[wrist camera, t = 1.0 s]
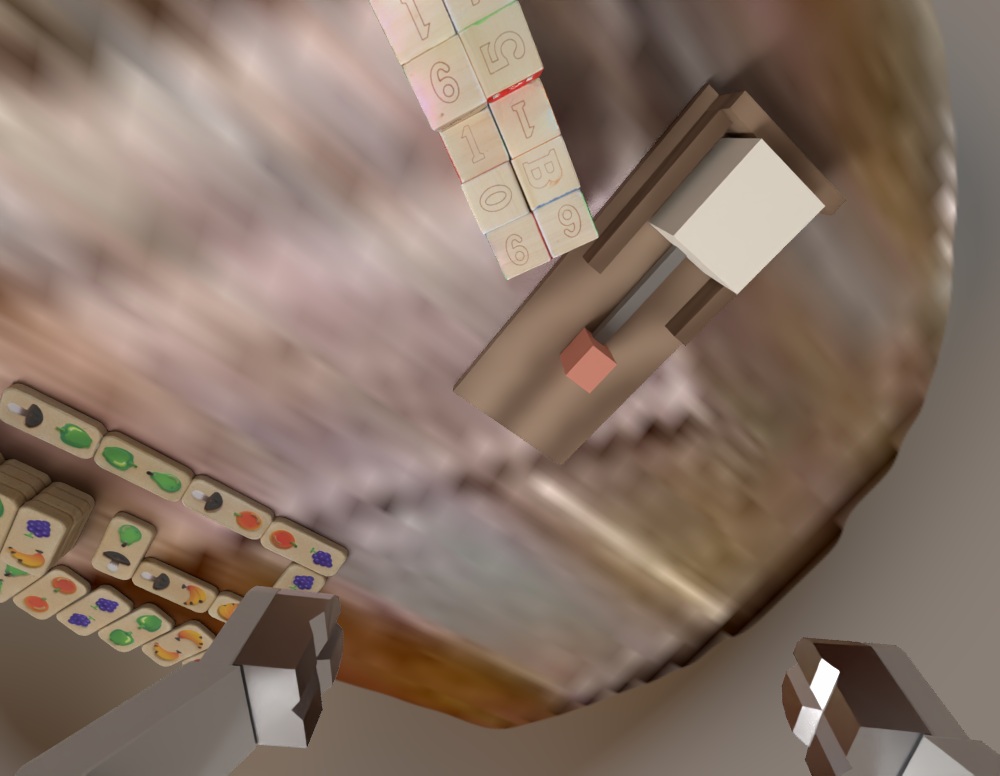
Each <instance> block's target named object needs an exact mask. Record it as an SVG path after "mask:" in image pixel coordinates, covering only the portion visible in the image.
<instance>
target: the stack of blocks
mask: <svg viewBox="0 0 1000 776" xmlns="http://www.w3.org/2000/svg"><path fill="white" fill-rule="evenodd" d="M369 2H370V4H371V6H372V8H373V11H374V13H375V15H376V17H377V19H378V20H379V23H380V25H381V27H382V29H383V31H384V33H385V35H386V37H387V39H388V41H389V43H390V45H391V47H392V49H393V51H394V54H395V56H396V58H397V59H398V61H399V63H400V64H401V66H402V67H403V70H404V72H405V75H406V77H407V79H408V81H409V83H410V85H411V87H412V89H413V91H414V93H415V95H416V97H417V99H418V101H419V103H420V106H421V108H422V110H423V112H424V114H425V116H426V118H427V120H428V122H429V124H430V126H431V128H432V130H433V131H437V132H438V133H439V135H440V137H441V139H442V141H443V144H444V146H445V148H446V150H447V152H448V155H449V157H450V159H451V161H452V163H453V166H454V168H455V170H456V172H457V175H458V177H459V179H460V181H461V188H462V190H463V192H464V195H465V197H466V199H467V201H468V204H469V206H470V208H471V210H472V212H473V214H474V217H475V219H476V221H477V223H478V225H479V227H480V229H481V231H482V233H483V234H484V235H486V237H487V239H488V241H489V244H490V246H491V248H492V250H493V252H494V255H495V257H496V259H497V261H498V263H499V266H500V268H501V270H502V272H503V274H504V277H505V279H506V280H509V279H511V278H513V277H515V276H517V275H520V274H522V273H524V272H526V271H528V270H530V269H533V268H535V267H537V266H540V265H542V264H544V263H546V262H548V261H550V260H551V259H552V258H555V257H557V256H560V255H562V254H564V253H567V252H569V251H571V250H573V249H575V248H577V247H579V246H582V245H584V244H586V243H588V242H591V241H593V240H595V239H597V238H599V235H598V232H597V229H596V227H595V224H594V221H593V219H592V216H591V214H590V211H589V208H588V205H587V203H586V200H585V198H584V196H583V193H582V191H581V185H580V182H579V179H578V177H577V174H576V171H575V169H574V166H573V164H572V161H571V158H570V156H569V153H568V150H567V147H566V145H565V142H564V140H563V137H562V135H561V131H560V128H559V125H558V123H557V120H556V117H555V115H554V112H553V110H552V107H551V105H550V102H549V99H548V97H547V94H546V92H545V89H544V86H543V84H542V82H541V79H540V78H539V76H540V75H541V73H542V72H543V70H544V67H543V64H542V61H541V59H540V56H539V53H538V51H537V48H536V45H535V43H534V40H533V37H532V35H531V32H530V29H529V27H528V24H527V22H526V19H525V16H524V14H523V11H522V8H521V5H520V3H519V1H518V0H369Z"/></svg>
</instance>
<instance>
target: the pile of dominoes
mask: <svg viewBox="0 0 1000 776" xmlns="http://www.w3.org/2000/svg"><path fill="white" fill-rule="evenodd" d="M0 419H1V420H2V421H3V422H5V423H7V424H9V425H11V426H13V427H15V428H18V429H20V430H22V431H24V432H26V433H28V434H30V435H33V436H35V437H37V438H39V439H41V440H43V441H45V442H48V443H50V444H52V445H54V446H56V447H58V448H60V449H63V450H65V451H67V452H69V453H71V454H73V455H75V456H78V457H80V458H83V459H88V458H91V457H94V460H95V462H96V464H97V465H99V466H100V467H101V468H103V469H105V470H107V471H109V472H111V473H113V474H115V475H118V476H120V477H122V478H124V479H126V480H128V481H130V482H132V483H134V484H136V485H138V486H140V487H142V488H144V489H146V490H148V491H150V492H152V493H154V494H156V495H158V496H160V497H162V498H164V499H166V500H169V501H178V500H180V499H181V500H182V503H183V504H184V506H186V507H187V508H189V509H191V510H193V511H195V512H197V513H199V514H201V515H203V516H205V517H207V518H209V519H211V520H213V521H215V522H217V523H219V524H221V525H223V526H225V527H227V528H229V529H231V530H233V531H235V532H237V533H239V534H241V535H243V536H245V537H247V538H250V539H258V538H261V543H262V545H263V546H264V547H265V548H267V549H269V550H271V551H273V552H275V553H277V554H280V555H282V556H284V557H286V558H288V559H290V560H292V561H293V562H292V563H291V564H290V565H289V566H288V567H287V569H286V570H285V571H284V573H283V574H282V575H281V577H280V578H279V579H278V580H277V582H276V583H275V584H274V586H273V587H272V588H279V589H291V590H300V591H308V592H317V593H318V592H319V590H320V589H321V588H322V587H323V586H324V584H325V583H326V580H327V576H332V575H334V574H335V573H336V572H337V571H338V570H339V568H340V567H341V566H342V564H343V563H344V562H345V560H346V558H347V556H348V552H347V550H346V549H345V548H344V547H342V546H340V545H338V544H336V543H334V542H332V541H330V540H328V539H326V538H324V537H322V536H320V535H318V534H316V533H314V532H312V531H310V530H308V529H306V528H304V527H302V526H300V525H298V524H296V523H294V522H292V521H290V520H288V519H286V518H284V517H275V516H274V513H273V511H272V510H270V509H269V508H267V507H265V506H263V505H261V504H259V503H258V502H256V501H254V500H252V499H250V498H248V497H246V496H244V495H242V494H240V493H238V492H236V491H234V490H233V489H231V488H229V487H227V486H225V485H223V484H221V483H219V482H217V481H215V480H213V479H211V478H210V477H207V476H204V475H198V476H195V475H194V473H193V472H192V471H191V470H190V469H189V468H187V467H185V466H183V465H182V464H180V463H178V462H176V461H174V460H172V459H170V458H168V457H166V456H164V455H162V454H160V453H159V452H157V451H155V450H153V449H151V448H149V447H147V446H145V445H143V444H141V443H139V442H137V441H136V440H134V439H132V438H130V437H128V436H126V435H124V434H122V433H120V432H115V431H114V432H108V431H107V430H106V428H105V427H104V426H103V424H101V423H100V422H98V421H96V420H94V419H92V418H90V417H88V416H86V415H84V414H82V413H80V412H78V411H76V410H74V409H72V408H70V407H68V406H66V405H64V404H62V403H60V402H58V401H56V400H54V399H52V398H50V397H48V396H46V395H44V394H42V393H40V392H38V391H36V390H34V389H32V388H30V387H28V386H26V385H23V384H13V385H11V386H10V387H8V388H6V389H5V390H4V392H3V395H2V398H1V401H0ZM94 505H95V501H94V499H93V498H92V497H91V496H90V495H88V494H86V493H84V492H82V491H80V490H78V489H76V488H73V487H71V486H69V485H67V484H65V483H62V482H53V483H52V482H51V479H50V478H49V476H48V475H47V474H45V473H43V472H41V471H39V470H37V469H35V468H33V467H31V466H28V465H26V464H24V463H22V462H20V461H18V460H15V459H9V460H7V461H6V460H5V459H4V457H3V456H2V454H1V453H0V603H2V602H5V601H6V600H8V599H10V598H11V597H13V601H14V603H15V604H16V605H17V606H18V607H20V608H21V609H23V610H25V611H26V612H28V613H29V614H30V615H32V616H33V617H35V618H38V619H47V618H49V617H51V616H52V615H54V614H55V613H57V619H58V620H59V621H60V622H62V623H63V624H64V625H66V626H67V627H69V628H70V629H71V630H73V631H74V632H76V633H77V634H79V635H84V636H86V635H89V634H91V633H93V632H95V631H97V630H99V632H98V635H99V636H100V638H101V639H103V640H104V641H105V642H107V643H108V644H109V645H111V646H112V647H113V648H115V649H116V650H118V651H121V652H128V651H130V650H132V649H134V648H136V647H138V646H140V645H142V644H143V645H142V650H143V652H144V653H145V654H147V655H148V656H149V657H150V658H151V659H153V660H154V661H155V662H156V663H158V664H159V665H161V666H171V665H173V664H175V663H177V662H179V661H181V660H183V661H182V665H185V664H186V663H188V662H190V661H195V662H199V661H200V659H201V658H202V656H203V655H204V654H205V652H206V651H207V649H208V648H209V646H210V645H211V644H212V642H213V641H214V639H215V638H216V636H215V635H214V634H213V633H212V632H211V631H210V630H209V629H208V628H206V627H205V626H204V625H203V624H202V623H201V622H199V621H196V620H190V621H187V622H185V623H183V624H181V625H179V626H176V627H174V625H175V622H174V620H173V619H172V618H171V617H170V616H168V615H167V614H166V613H165V612H163V611H162V610H161V609H160V608H158V607H157V606H156V605H154V604H150V603H146V604H143V605H141V606H139V607H137V608H135V609H134V605H133V602H132V601H131V600H129V599H128V598H127V597H125V596H124V595H123V594H122V593H120V592H119V591H118V590H116V589H115V588H113V587H112V586H110V585H101V586H99V587H98V588H96V589H94V590H92V591H91V585H90V583H89V582H87V581H86V580H85V579H83V578H82V577H81V576H79V575H78V574H77V573H75V572H74V571H72V570H71V569H70V568H68V567H66V566H62V565H59V566H56V567H54V568H52V569H51V570H49V569H50V568H51V567H52V566H53V565H54V564H55V563H56V562H57V561H58V560H59V559H61V558H62V557H63V556H64V555H65V554H66V553H67V552H69V551H70V550H71V549H73V548H74V546H75V544H76V542H77V540H78V538H79V536H80V534H81V532H82V530H83V528H84V526H85V524H86V522H87V520H88V518H89V516H90V514H91V512H92V510H93V508H94ZM155 535H156V529H155V527H154V526H153V525H151V524H149V523H147V522H145V521H143V520H141V519H138V518H136V517H134V516H132V515H130V514H127V513H124V512H120V513H117V514H116V515H115V516H114V517H113V518H112V520H111V522H110V524H109V526H108V528H107V530H106V532H105V534H104V536H103V538H102V540H101V542H100V544H99V547H98V549H97V551H96V553H95V555H94V557H93V559H92V565H93V566H94V568H96V569H97V570H99V571H101V572H104V573H106V574H109V575H111V576H114V577H116V578H118V579H123V580H127V579H129V578H132V581H133V583H134V584H135V585H137V586H139V587H141V588H143V589H145V590H148V591H150V592H152V593H154V594H157V595H159V596H161V597H164V598H166V599H168V600H170V601H173V602H175V603H177V604H179V605H182V606H184V607H186V608H189V609H191V610H193V611H195V612H201V613H202V612H205V611H207V610H208V611H209V614H210V615H211V616H212V617H214V618H216V619H218V620H221V621H223V622H225V623H226V622H227V621H228V619H229V618H230V616H231V615H232V613H233V612H234V611H235V609H236V608H237V606H238V605H239V603H240V602H241V600H242V599H243V597H241V596H239V595H236V594H234V593H232V592H229V591H222V592H219V591H218V589H217V588H216V587H215V586H213V585H211V584H209V583H207V582H204V581H202V580H200V579H198V578H196V577H194V576H191V575H189V574H187V573H185V572H183V571H181V570H178V569H176V568H174V567H172V566H170V565H168V564H165V563H163V562H161V561H159V560H157V559H154V558H144V556H145V554H146V552H147V550H148V548H149V546H150V545H151V543H152V541H153V539H154V537H155Z"/></svg>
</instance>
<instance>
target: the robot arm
mask: <svg viewBox="0 0 1000 776" xmlns="http://www.w3.org/2000/svg"><path fill="white" fill-rule="evenodd" d="M340 611H341V608H340V601H339V597H338V596H336V595H333V594H325V593H317V592H308V591H300V590H291V589H279V588H270V587H262V586H255V587H254V588H252V589H251V590H249V591H248V592H247V593H246V595H245V596H244V598H243V599H242V600H241V602H240V603H239V605H238V606H237V608H236V609H235V611H234V612H233V613H232V615H231V616H230V618H229V619H228V621H227V622H226V623H225V625H224V626H223V628H222V629H221V631H220V632H219V633H218V635H217V636H216V638H215V639H214V641H213V642H212V644H211V645H210V646H209V648H208V649H207V651H206V652H205V654H204V655H203V656H202V658H201V659H200V661H199V662H195V661H190V662H188V663H186V664H185V665H183V666H182V667H180V668H179V669H177V670H175V671H174V672H172V673H171V674H169V675H167V676H166V677H164V678H162V679H161V680H159V681H158V682H156V683H154V684H153V685H151V686H150V687H148V688H146V689H145V690H143V691H142V692H140V693H138V694H137V695H135V696H134V697H132V698H131V699H129V700H127V701H126V702H124V703H122V704H121V705H119V706H118V707H116V708H115V709H113V710H111V711H110V712H108V713H107V714H105V715H103V716H102V717H100V718H99V719H97V720H95V721H94V722H92V723H91V724H89V725H87V726H86V727H84V728H82V729H81V730H79V731H78V732H76V733H75V734H73V735H71V736H70V737H68V738H66V739H65V740H63V741H62V742H60V743H59V744H57V745H55V746H54V747H52V748H50V749H49V750H47V751H46V752H44V753H43V754H41V755H39V756H38V757H36V758H34V759H33V760H31V761H30V762H28V763H26V764H25V765H23V766H22V767H21V768H20V769H19V770H18V772H17V773H16V774H15V775H14V776H227V775H228V774H229V773H230V772H231V771H232V770H233V769H234V768H235V767H237V766H238V765H239V764H240V763H241V762H242V761H243V760H244V759H245V758H246V757H247V756H248V755H249V754H250V753H251V752H252V751H253V750H254V749H255V748H256V744H261V745H273V746H287V747H299V748H307V747H308V744H309V742H310V739H311V737H312V735H313V732H314V729H315V727H316V725H317V722H318V720H319V718H320V715H321V713H322V710H323V709H322V699H321V694H323V693H324V692H325V691H326V690H328V689H329V688H330V687H331V686H332V685H333V682H334V680H335V678H336V675H337V672H338V670H339V665H340V661H341V657H342V653H343V629H342V628H341V627H340V626H339V625H338V624H337V622H336V620H337V618H338V616H339V614H340ZM793 654H794V656H795V658H796V660H797V662H798V664H797V665H795V666H794V667H792V668H791V669H790V670H788V671H787V672H786V675H785V678H784V681H783V684H782V702H783V707H784V710H785V714H786V718H787V720H788V723H789V725H790V727H791V730H792V732H793V733H794V734H795V735H796V736H797V737H798V738H799V739H800V740H801V741H802V742H803V743H805V744H806V745H807V746H808V749H807V753H806V757H805V762H806V764H807V766H808V768H809V771H810V773H811V775H812V776H1000V754H998V753H997V752H996V751H994V750H993V749H991V748H990V747H989V746H987V745H986V744H985V743H983V742H982V741H978V740H970V738H969V737H968V736H967V735H966V733H965V732H964V730H963V729H962V728H961V726H960V725H959V724H958V722H957V721H956V720H955V718H954V717H953V716H952V714H951V713H950V712H949V710H948V709H947V708H946V706H945V705H944V704H943V702H942V701H941V700H940V698H939V697H938V696H937V694H936V693H935V692H934V690H933V689H932V688H931V686H930V685H929V684H928V682H927V681H926V680H925V678H924V677H923V676H922V674H921V673H920V672H919V670H918V669H917V668H916V666H915V665H914V664H913V662H912V661H911V660H910V658H909V657H908V656H907V654H906V653H905V652H904V651H903V650H902V649H900V648H899V647H897V646H896V645H887V644H874V643H860V642H852V641H839V640H828V639H815V638H802V639H801V640H800V641H798V642H797V644H796V647H795V649H794V652H793Z"/></svg>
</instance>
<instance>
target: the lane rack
mask: <svg viewBox="0 0 1000 776" xmlns="http://www.w3.org/2000/svg"><path fill="white" fill-rule="evenodd" d="M721 138H762V139H763V141H764V142H765V143H766V144H767V145H768V146H769V147H770V148H771V149H772V150H773V151H774V152H775V153H776V154H777V155H778V156H779V157H780V159H781V160H782V161H783V162H784V163H785V164H786V165H787V166H788V167H789V168H790V169H791V170H792V171H793V172H794V173H795V174H796V175H797V177H798V178H799V179H800V180H801V181H802V182H803V183H804V184H805V185H806V186H807V187H808V188H809V189H810V190H811V191H812V192H813V194H814V195H815V196H816V197H817V198H818V199H819V200H820V201H821V202H822V203H823V204H824V205H825V207H824V208H823V209H822V210H821V211H820V212H819V213H823V214H827V215H832V214H833V213H834V212H835V211H836V210H837V209H838V208H839V207H840V206H841V205H842V204H843V203H844V202H845V201H846V199H845V198H844V197H843V196H842V195H841V194H840V193H839V192H838V191H837V189H836V188H835V187H834V186H833V185H832V184H831V183H830V182H829V181H828V180H827V179H826V178H825V176H824V175H823V174H822V173H821V172H820V171H819V170H818V169H817V168H816V167H815V166H814V165H813V163H812V162H811V161H810V160H809V159H808V158H807V157H806V156H805V155H804V154H803V153H802V151H801V150H800V149H799V148H798V147H797V146H796V145H795V144H794V143H793V142H792V141H791V140H790V138H789V137H788V136H787V135H786V134H785V133H784V132H783V131H782V130H781V129H780V128H779V127H778V125H777V124H776V123H775V122H774V121H773V120H772V119H771V118H770V117H769V116H768V115H767V114H766V112H765V111H764V110H763V109H762V108H761V107H760V106H759V105H758V104H757V103H756V102H755V101H754V99H753V98H752V97H751V96H750V95H749V94H748V93H747V92H746V91H740V92H734V93H728V94H723V95H719V94H718V93H717V92H716V91H715V90H714V89H713V88H712V87H711V86H710V85H709V84H708V85H704V86H703V87H702V88H701V89H700V91H699V92H698V93H697V94H696V95H695V97H694V98H693V99H692V100H691V101H690V103H689V104H688V105H687V106H686V107H685V109H684V110H683V111H682V112H681V113H680V115H679V116H678V117H677V118H676V119H675V121H674V122H673V123H672V124H671V125H670V127H669V128H668V129H667V130H666V131H665V133H664V134H663V135H662V136H661V137H660V139H659V140H658V141H657V142H656V143H655V145H654V146H653V147H652V148H651V150H650V151H649V152H648V153H647V154H646V156H645V157H644V158H643V159H642V160H641V162H640V163H639V164H638V165H637V166H636V168H635V169H634V170H633V171H632V172H631V174H630V175H629V176H628V177H627V178H626V180H625V181H624V182H623V183H622V184H621V186H620V187H619V188H618V189H617V190H616V192H615V193H614V194H613V195H612V196H611V198H610V199H609V200H608V201H607V202H606V204H605V205H604V206H603V207H602V209H601V210H600V211H599V212H598V213H597V215H596V216H595V217H594V218H593V221H594V224H595V227H596V229H597V232H598V235H599V238H597V239H595V240H593V241H591V242H588V243H586V244H584V245H582V246H579V247H577V248H575V249H573V250H571V251H569V252H567V253H564V254H563V255H562V257H561V258H560V259H559V260H558V261H557V263H556V264H555V265H554V266H553V267H552V269H551V270H550V271H549V272H548V274H547V275H546V276H545V277H544V278H543V280H542V281H541V282H540V283H539V284H538V286H537V287H536V288H535V289H534V290H533V292H532V293H531V294H530V295H529V296H528V298H527V299H526V300H525V301H524V302H523V304H522V305H521V306H520V307H519V308H518V310H517V311H516V312H515V313H514V314H513V316H512V317H511V318H510V319H509V320H508V322H507V323H506V324H505V325H504V326H503V328H502V329H501V330H500V331H499V333H498V334H497V335H496V336H495V337H494V339H493V340H492V341H491V342H490V343H489V345H488V346H487V347H486V348H485V349H484V351H483V352H482V353H481V354H480V355H479V357H478V358H477V359H476V360H475V361H474V363H473V364H472V365H471V366H470V367H469V369H468V370H467V371H466V372H465V373H464V375H463V376H462V377H461V378H460V379H459V381H458V382H457V383H456V384H455V385H454V388H453V392H454V393H456V394H457V395H459V396H460V397H462V398H463V399H465V400H466V401H468V402H469V403H470V404H472V405H473V406H475V407H476V408H478V409H479V410H481V411H482V412H484V413H485V414H487V415H488V416H489V417H491V418H492V419H494V420H495V421H497V422H498V423H500V424H501V425H503V426H504V427H506V428H507V429H508V430H510V431H511V432H513V433H514V434H516V435H517V436H519V437H520V438H522V439H523V440H525V441H526V442H527V443H529V444H530V445H532V446H533V447H535V448H536V449H538V450H539V451H541V452H542V453H543V454H545V455H546V456H548V457H549V458H551V459H552V460H554V461H555V462H557V463H558V464H560V465H562V464H563V463H564V462H565V461H566V460H567V459H568V458H569V457H570V456H571V455H572V454H573V453H574V452H575V451H576V450H577V449H578V448H579V447H580V446H581V445H582V444H583V443H584V442H585V441H586V440H587V439H588V438H589V437H590V436H591V435H592V434H593V433H594V432H595V431H596V430H597V429H598V428H599V427H600V426H601V425H602V424H603V423H604V422H605V421H606V420H607V419H608V418H609V417H610V416H611V415H612V414H613V413H614V412H615V411H616V410H617V409H618V408H619V407H620V406H621V405H622V404H623V403H624V402H625V401H626V400H627V398H628V397H629V396H630V395H631V394H632V393H633V392H634V391H635V390H636V389H637V388H638V387H639V386H640V385H641V384H642V383H643V382H644V381H645V380H646V379H647V378H648V377H649V376H650V375H651V374H652V373H653V372H654V371H655V370H656V369H657V368H658V367H659V366H660V365H661V364H662V363H663V362H664V361H665V360H666V359H667V358H668V357H669V356H670V355H671V354H672V353H673V352H674V351H675V350H676V349H677V348H678V347H679V346H680V345H681V344H682V343H683V344H684V345H685V346H686V345H687V344H688V343H689V342H690V341H691V340H692V339H693V338H694V337H695V336H696V335H697V334H698V333H699V332H700V331H701V330H702V329H703V328H704V327H705V326H706V325H707V324H708V323H709V322H710V321H711V320H712V319H713V318H714V317H715V316H716V315H717V314H718V313H719V312H720V311H721V310H722V309H723V308H724V307H725V306H726V305H727V304H728V303H729V302H730V301H731V300H732V299H733V298H734V297H735V296H736V295H737V294H736V293H734V292H733V291H731V290H730V289H728V288H727V287H725V286H723V285H722V284H720V283H719V282H717V281H716V280H714V279H713V278H711V277H710V276H708V275H707V274H705V273H704V272H702V271H701V270H700V269H699V268H698V267H697V266H696V265H695V264H694V263H693V262H691V261H690V260H689V259H688V258H687V257H685V258H684V259H683V260H682V262H681V263H680V264H679V265H678V266H677V267H676V268H675V269H674V270H673V271H672V272H671V273H670V274H669V276H668V277H667V278H666V279H665V280H664V281H663V282H662V283H661V284H660V285H659V286H658V287H657V288H656V290H655V291H654V292H653V293H652V294H651V295H650V296H649V297H648V298H647V299H646V300H645V301H644V302H643V304H642V305H641V306H640V307H639V308H638V309H637V310H636V311H635V312H634V313H633V314H632V315H631V316H630V318H629V319H628V320H627V321H626V322H625V323H624V324H623V325H622V326H621V327H620V328H619V329H618V330H617V332H616V333H615V334H614V335H613V336H612V337H611V338H610V339H609V340H608V341H607V342H606V343H605V344H606V345H607V347H608V348H609V350H610V352H611V354H612V356H613V358H614V359H615V361H616V363H617V365H616V366H615V367H614V368H613V369H612V371H611V372H610V373H609V374H608V375H607V376H606V377H605V378H604V379H603V380H602V381H601V382H600V383H599V384H598V385H597V386H596V387H595V388H594V389H593V390H592V391H591V392H590V393H588V392H587V391H586V390H584V389H583V388H582V387H580V386H579V385H578V384H576V383H575V382H574V381H572V380H571V379H570V378H568V377H567V376H566V375H565V372H564V368H563V365H562V362H561V359H560V354H561V353H562V352H563V351H564V350H565V348H566V347H567V346H568V345H569V344H570V343H571V342H572V341H573V340H574V338H575V337H576V336H577V335H578V334H579V333H580V332H581V331H582V330H583V328H584V327H585V328H586V329H587V330H588V331H590V332H591V333H593V332H594V331H595V330H596V329H597V327H598V326H599V325H600V324H601V323H602V322H603V321H604V320H605V319H606V318H607V316H608V315H609V314H610V313H611V312H612V311H613V310H614V309H615V308H616V307H617V305H618V304H619V303H620V302H621V301H622V300H623V299H624V298H625V297H626V296H627V294H628V293H629V292H630V291H631V290H632V289H633V288H634V287H635V286H636V285H637V283H638V282H639V281H640V280H641V279H642V278H643V277H644V276H645V275H646V274H647V272H648V271H649V270H650V269H651V268H652V267H653V266H654V265H655V264H656V263H657V261H658V260H659V259H660V258H661V257H662V256H663V255H664V254H665V253H666V252H667V250H668V249H669V248H670V247H671V246H672V245H673V244H672V243H671V242H669V241H668V240H667V239H666V238H665V237H664V236H663V235H662V234H661V233H660V232H658V231H657V230H656V229H655V228H654V227H653V226H652V225H651V224H650V223H649V222H648V221H649V220H650V219H651V218H652V216H653V215H654V214H655V213H656V212H657V211H658V210H659V208H660V207H661V206H662V205H663V204H664V203H665V202H666V200H667V199H668V198H669V197H670V196H671V195H672V194H673V192H674V191H675V190H676V189H677V188H678V187H679V186H680V184H681V183H682V182H683V181H684V180H685V179H686V178H687V176H688V175H689V174H690V173H691V172H692V171H693V170H694V168H695V167H696V166H697V165H698V164H699V163H700V162H701V160H702V159H703V158H704V157H705V156H706V155H707V154H708V152H709V151H710V150H711V149H712V148H713V147H714V146H715V144H716V143H717V142H718V141H719V140H720V139H721Z"/></svg>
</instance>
